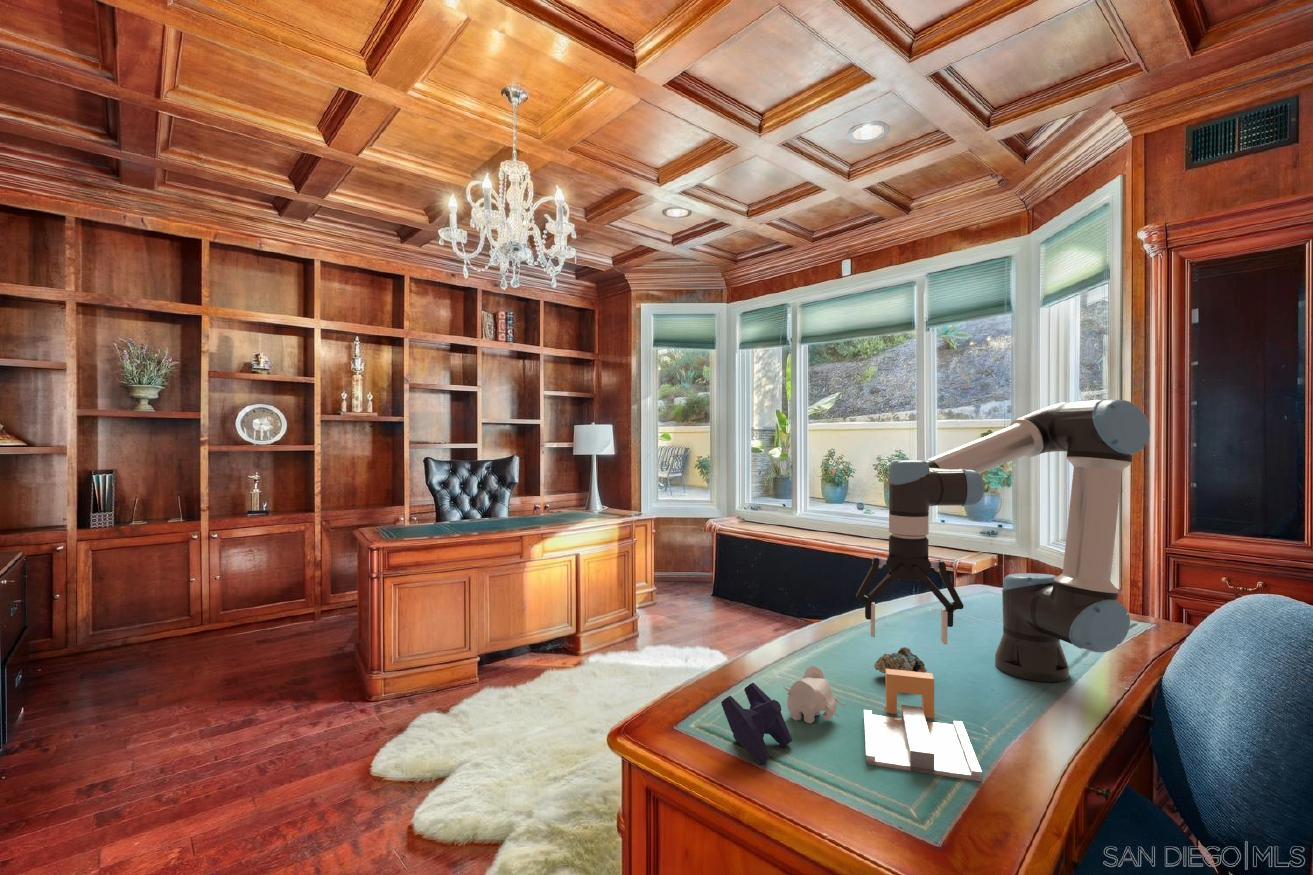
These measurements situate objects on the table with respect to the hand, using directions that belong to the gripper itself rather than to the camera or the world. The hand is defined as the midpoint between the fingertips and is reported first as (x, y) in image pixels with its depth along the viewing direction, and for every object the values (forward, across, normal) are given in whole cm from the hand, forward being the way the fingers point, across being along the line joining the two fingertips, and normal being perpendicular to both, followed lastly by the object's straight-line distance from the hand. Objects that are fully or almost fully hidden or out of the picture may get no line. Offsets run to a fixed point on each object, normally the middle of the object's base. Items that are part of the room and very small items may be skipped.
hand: (907, 638), depth 124 cm
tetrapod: (+16, +28, +23) cm, 39 cm away
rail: (+15, 0, +14) cm, 21 cm away
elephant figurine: (+16, +19, +8) cm, 26 cm away
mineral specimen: (+15, 0, -19) cm, 24 cm away
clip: (+15, 0, 0) cm, 15 cm away
